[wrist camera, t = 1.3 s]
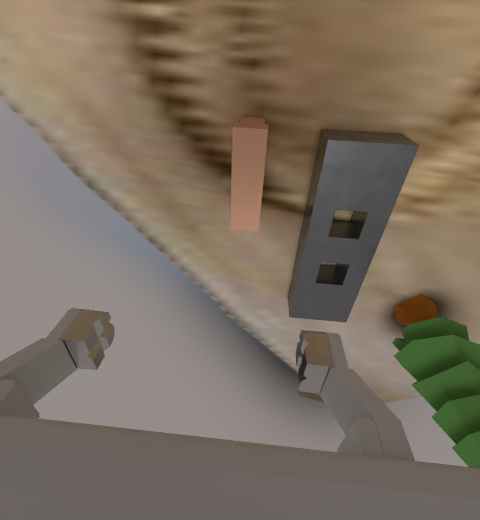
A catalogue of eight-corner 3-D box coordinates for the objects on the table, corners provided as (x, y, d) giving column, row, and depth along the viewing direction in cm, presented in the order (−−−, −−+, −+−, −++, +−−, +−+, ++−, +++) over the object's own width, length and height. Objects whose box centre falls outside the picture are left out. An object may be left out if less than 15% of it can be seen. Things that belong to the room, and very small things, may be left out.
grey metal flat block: (321, 129, 29) (328, 139, 25) (402, 134, 28) (418, 145, 25) (287, 297, 43) (289, 317, 40) (340, 301, 43) (346, 322, 40)
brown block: (238, 113, 28) (232, 127, 24) (268, 114, 28) (268, 129, 24) (235, 203, 34) (230, 229, 30) (260, 205, 34) (258, 231, 30)
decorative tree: (462, 303, 41) (723, 656, 17) (414, 338, 47) (563, 643, 23) (407, 281, 40) (614, 638, 16) (365, 320, 45) (470, 628, 21)
